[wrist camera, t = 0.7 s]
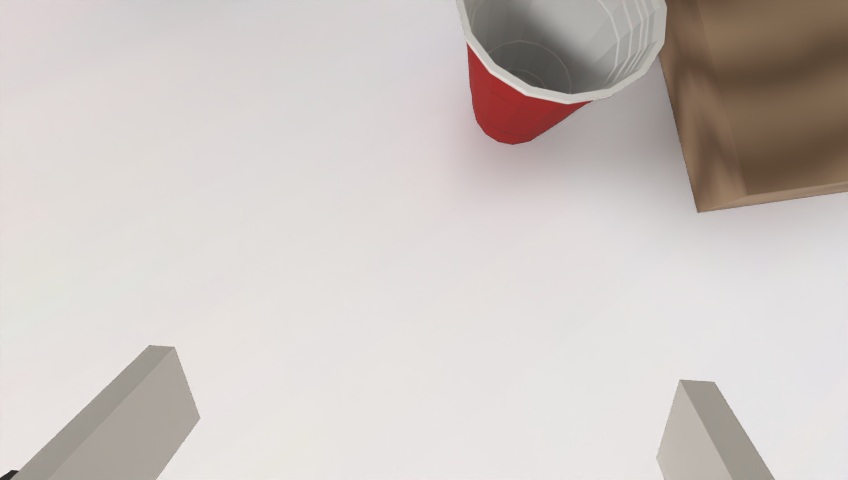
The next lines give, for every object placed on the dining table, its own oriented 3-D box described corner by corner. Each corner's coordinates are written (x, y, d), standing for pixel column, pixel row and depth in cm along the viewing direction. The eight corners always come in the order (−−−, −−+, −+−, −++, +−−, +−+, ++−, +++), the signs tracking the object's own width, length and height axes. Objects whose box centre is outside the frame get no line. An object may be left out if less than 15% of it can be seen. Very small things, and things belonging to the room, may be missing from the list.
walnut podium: (643, -7, 35) (681, -59, 30) (859, -34, 36) (931, -89, 31) (697, 212, 32) (748, 195, 27) (930, 179, 33) (1020, 156, 28)
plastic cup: (613, 107, 34) (720, -3, 22) (517, 205, 32) (575, 145, 20) (509, 15, 35) (557, -138, 23) (412, 106, 33) (409, -5, 22)
